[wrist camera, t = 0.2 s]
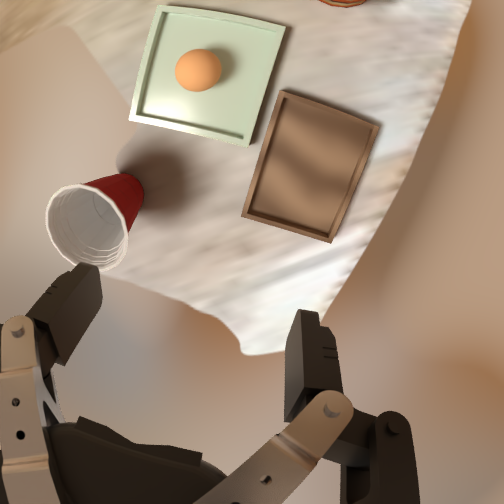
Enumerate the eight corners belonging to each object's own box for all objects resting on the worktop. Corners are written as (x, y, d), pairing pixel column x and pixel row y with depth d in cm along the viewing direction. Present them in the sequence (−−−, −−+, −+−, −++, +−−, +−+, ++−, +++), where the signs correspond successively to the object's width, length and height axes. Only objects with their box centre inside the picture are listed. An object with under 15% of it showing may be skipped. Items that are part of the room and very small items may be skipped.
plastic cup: (146, 241, 43) (110, 290, 33) (86, 206, 41) (39, 245, 31) (176, 179, 38) (139, 216, 28) (109, 142, 36) (55, 167, 26)
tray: (279, 90, 32) (279, 90, 30) (374, 125, 33) (379, 127, 31) (242, 210, 40) (240, 216, 38) (329, 237, 41) (331, 243, 39)
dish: (162, 8, 27) (157, 4, 25) (285, 29, 28) (285, 26, 26) (134, 118, 34) (128, 120, 33) (249, 145, 35) (247, 148, 34)
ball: (188, 48, 29) (175, 43, 25) (230, 56, 30) (222, 51, 25) (178, 87, 32) (163, 87, 27) (218, 95, 32) (209, 96, 28)
